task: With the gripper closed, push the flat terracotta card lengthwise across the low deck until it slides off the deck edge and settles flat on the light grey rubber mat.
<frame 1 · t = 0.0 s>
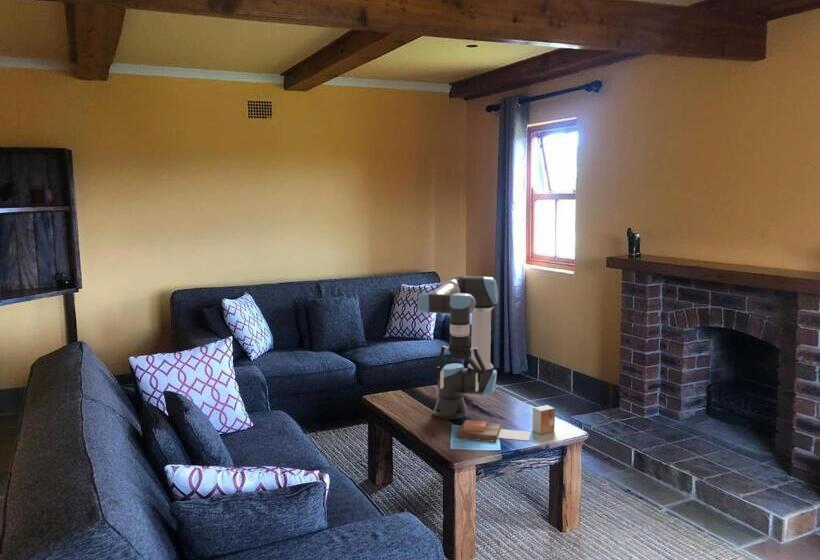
hand: (459, 389, 253), 28 cm above the table, fingers open, 13 cm apart
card: (475, 427, 283), point 2 cm above the table, touching deck
deck: (479, 433, 283), on the table
mat: (514, 435, 281), on the table
small box: (543, 431, 286), on the table
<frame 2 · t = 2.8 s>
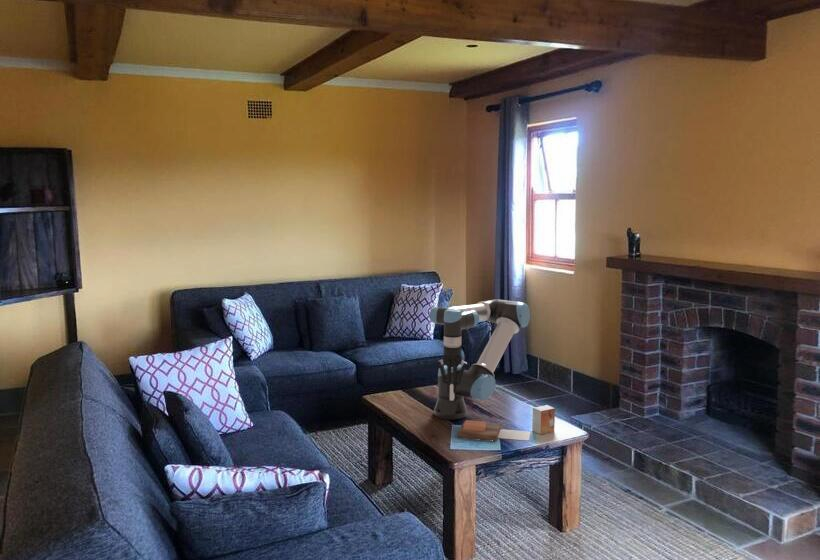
hand: (451, 399, 284), 14 cm above the table, fingers closed
nothing on the table moved.
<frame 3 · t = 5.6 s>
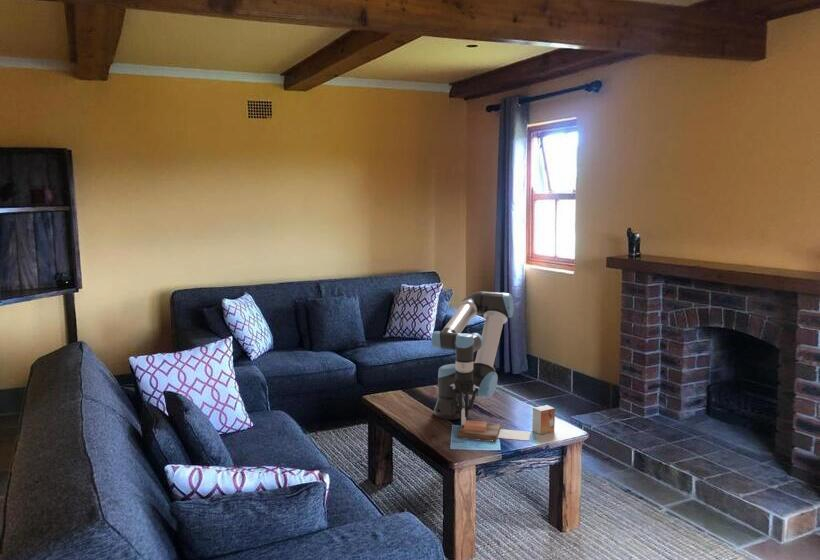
hand: (463, 423, 284), 4 cm above the table, fingers closed
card: (475, 427, 283), point 3 cm above the table, touching gripper
everything else where it was.
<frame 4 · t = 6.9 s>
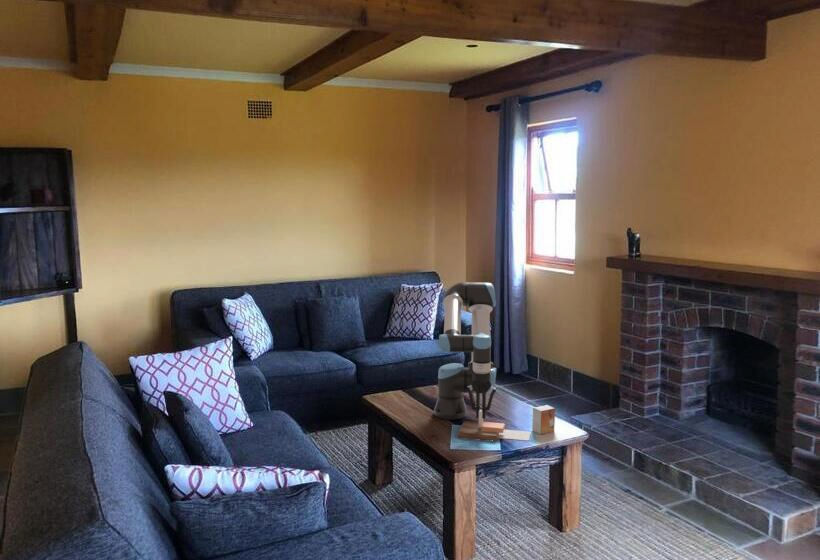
hand: (480, 425, 282), 4 cm above the table, fingers closed
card: (493, 429, 281), point 3 cm above the table, touching deck, gripper
everything else where it was.
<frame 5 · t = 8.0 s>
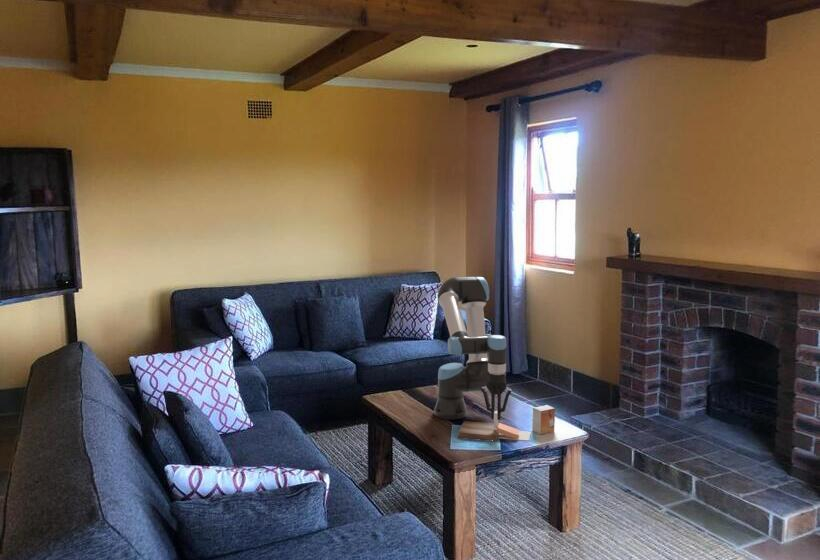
hand: (495, 426, 280), 4 cm above the table, fingers closed
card: (507, 433, 279), point 1 cm above the table, tilted 15°, touching deck
everything else where it was.
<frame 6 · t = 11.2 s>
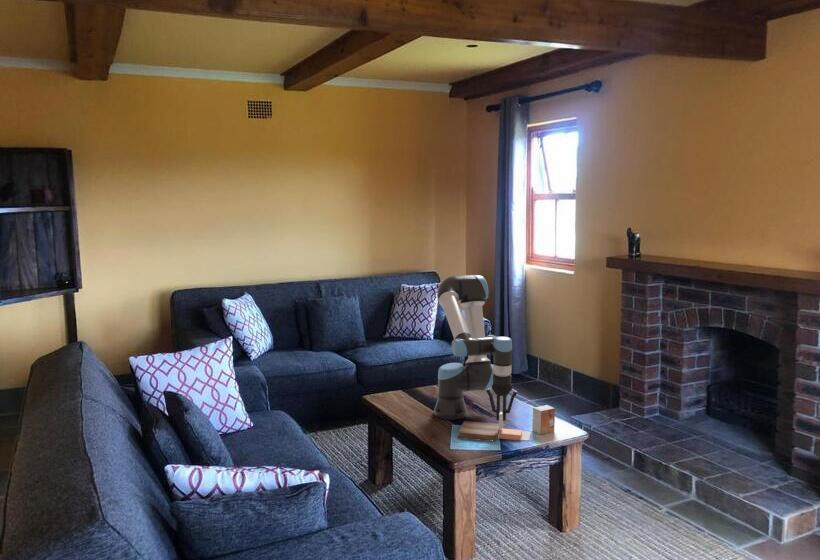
hand: (500, 427, 281), 3 cm above the table, fingers closed
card: (510, 436, 279), resting on mat
everything else where it was.
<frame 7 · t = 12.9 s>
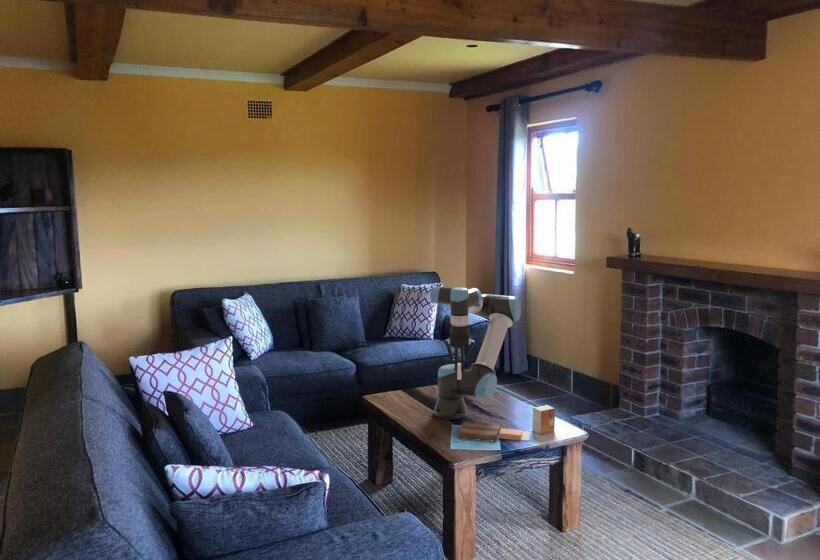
hand: (459, 378, 282), 23 cm above the table, fingers closed
nothing on the table moved.
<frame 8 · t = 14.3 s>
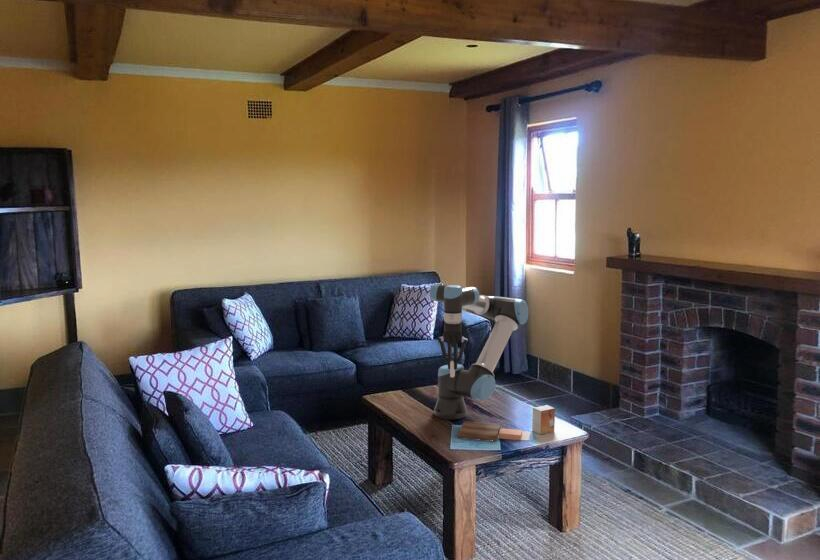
hand: (452, 376, 283), 24 cm above the table, fingers closed
nothing on the table moved.
at the end: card resting on mat; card inside the target area on the mat (2.6 cm from its centre), point 0.3 cm above the mat's base; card tilted 0° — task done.
